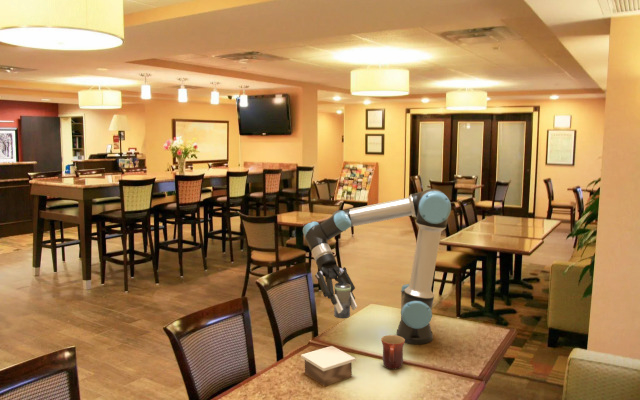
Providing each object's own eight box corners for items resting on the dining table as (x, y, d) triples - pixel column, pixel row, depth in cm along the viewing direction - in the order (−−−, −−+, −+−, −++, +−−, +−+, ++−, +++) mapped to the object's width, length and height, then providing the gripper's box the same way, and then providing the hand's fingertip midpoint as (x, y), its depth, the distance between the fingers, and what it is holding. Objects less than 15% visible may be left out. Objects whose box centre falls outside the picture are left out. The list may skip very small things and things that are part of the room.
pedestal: (331, 363, 194) (331, 345, 193) (355, 377, 183) (355, 358, 182) (300, 373, 186) (300, 354, 185) (323, 388, 175) (323, 368, 174)
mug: (381, 360, 197) (382, 334, 196) (405, 362, 195) (405, 335, 194) (379, 373, 185) (379, 346, 184) (403, 376, 184) (404, 348, 182)
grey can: (343, 311, 199) (344, 281, 198) (353, 316, 194) (354, 285, 192) (330, 314, 196) (331, 284, 194) (340, 319, 191) (340, 288, 189)
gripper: (339, 259, 210) (363, 310, 199) (300, 265, 200) (322, 319, 189) (347, 249, 205) (372, 300, 194) (307, 255, 195) (331, 309, 184)
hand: (347, 309), depth 191 cm, fingers closed on grey can, 6 cm apart
